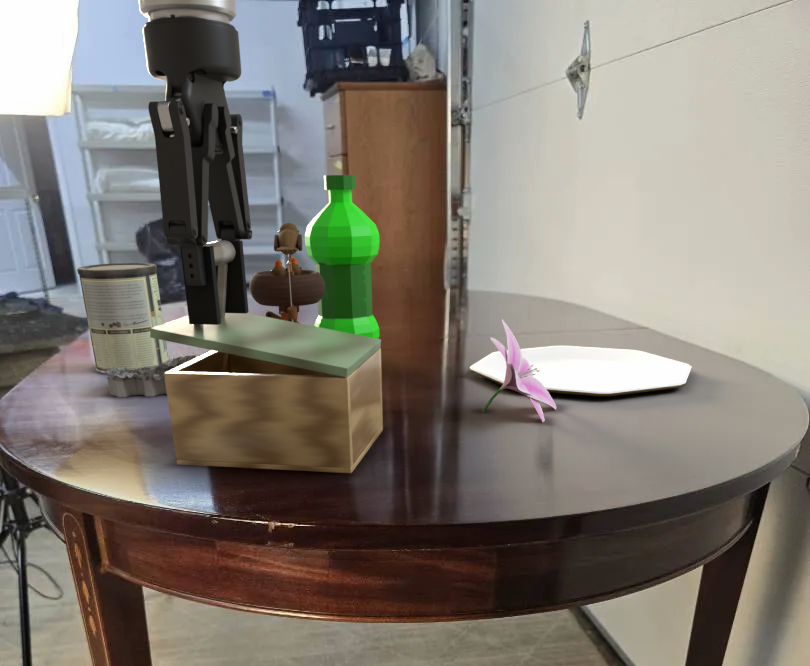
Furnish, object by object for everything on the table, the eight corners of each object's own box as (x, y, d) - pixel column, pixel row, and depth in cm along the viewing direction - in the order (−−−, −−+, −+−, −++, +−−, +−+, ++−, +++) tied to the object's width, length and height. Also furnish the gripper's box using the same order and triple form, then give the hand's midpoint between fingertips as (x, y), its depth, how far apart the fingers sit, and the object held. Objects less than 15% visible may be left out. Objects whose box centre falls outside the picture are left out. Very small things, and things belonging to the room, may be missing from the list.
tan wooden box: (177, 468, 71) (163, 372, 68) (232, 426, 83) (224, 344, 80) (351, 477, 69) (347, 378, 65) (383, 433, 81) (380, 348, 77)
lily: (500, 447, 79) (553, 366, 75) (426, 386, 84) (472, 307, 80) (553, 454, 88) (602, 382, 85) (484, 398, 94) (527, 328, 90)
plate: (544, 413, 87) (544, 400, 86) (442, 366, 110) (442, 356, 110) (735, 389, 96) (737, 377, 96) (604, 350, 120) (605, 340, 119)
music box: (354, 391, 97) (334, 220, 88) (270, 408, 94) (240, 232, 85) (317, 368, 110) (296, 217, 101) (242, 382, 106) (213, 227, 97)
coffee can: (87, 367, 112) (68, 265, 107) (156, 359, 118) (142, 261, 112) (107, 380, 105) (88, 271, 99) (180, 370, 110) (167, 266, 104)
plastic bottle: (300, 358, 117) (287, 176, 107) (358, 349, 123) (351, 176, 112) (335, 369, 110) (325, 174, 99) (395, 359, 115) (391, 174, 105)
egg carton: (204, 385, 102) (200, 354, 100) (190, 399, 95) (186, 366, 93) (122, 386, 101) (117, 355, 100) (103, 400, 95) (97, 367, 93)
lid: (149, 337, 67) (150, 242, 63) (213, 314, 79) (217, 233, 75) (346, 377, 65) (358, 282, 61) (380, 347, 77) (391, 266, 74)
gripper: (181, -6, 53) (217, 336, 63) (273, 40, 70) (290, 304, 80) (82, -1, 54) (132, 334, 64) (196, 43, 71) (222, 303, 81)
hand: (220, 317), depth 72 cm, fingers closed on lid, 6 cm apart
